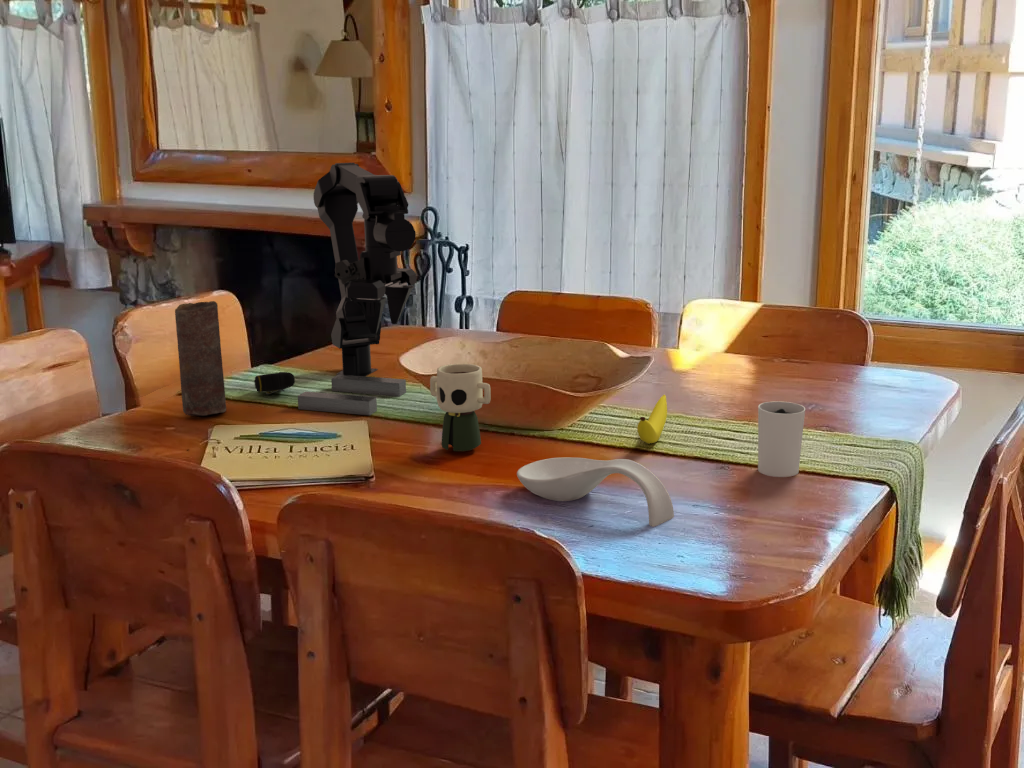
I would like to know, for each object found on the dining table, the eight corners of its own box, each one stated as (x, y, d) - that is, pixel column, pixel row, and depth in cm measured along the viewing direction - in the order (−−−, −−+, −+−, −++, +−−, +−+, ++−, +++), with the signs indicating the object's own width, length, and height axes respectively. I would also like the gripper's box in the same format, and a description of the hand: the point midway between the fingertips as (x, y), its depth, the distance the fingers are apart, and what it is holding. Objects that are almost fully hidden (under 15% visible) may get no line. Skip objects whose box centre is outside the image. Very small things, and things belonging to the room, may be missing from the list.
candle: (219, 421, 187) (210, 307, 182) (177, 421, 187) (166, 307, 182) (231, 409, 194) (223, 299, 189) (191, 409, 194) (181, 299, 189)
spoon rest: (500, 496, 151) (499, 447, 149) (554, 474, 159) (554, 428, 158) (639, 539, 136) (640, 485, 134) (691, 513, 144) (693, 462, 142)
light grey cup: (746, 468, 160) (749, 403, 158) (786, 463, 162) (789, 399, 160) (769, 483, 154) (773, 415, 152) (810, 478, 156) (814, 411, 154)
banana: (672, 423, 183) (673, 387, 182) (651, 457, 166) (652, 418, 164) (655, 422, 184) (656, 385, 182) (632, 456, 167) (633, 416, 165)
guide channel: (339, 387, 208) (338, 374, 208) (406, 392, 204) (405, 379, 204) (298, 409, 194) (297, 395, 193) (369, 415, 189) (369, 401, 189)
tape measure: (297, 389, 202) (294, 369, 202) (261, 395, 199) (257, 375, 199) (288, 390, 208) (285, 370, 208) (253, 396, 205) (249, 376, 205)
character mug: (419, 449, 171) (417, 369, 167) (444, 437, 177) (442, 360, 173) (479, 460, 165) (477, 377, 162) (502, 447, 171) (501, 367, 168)
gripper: (363, 237, 209) (366, 317, 213) (317, 250, 192) (322, 336, 196) (416, 239, 206) (418, 320, 210) (374, 252, 189) (378, 340, 193)
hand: (384, 328), depth 202 cm, fingers open, 9 cm apart
